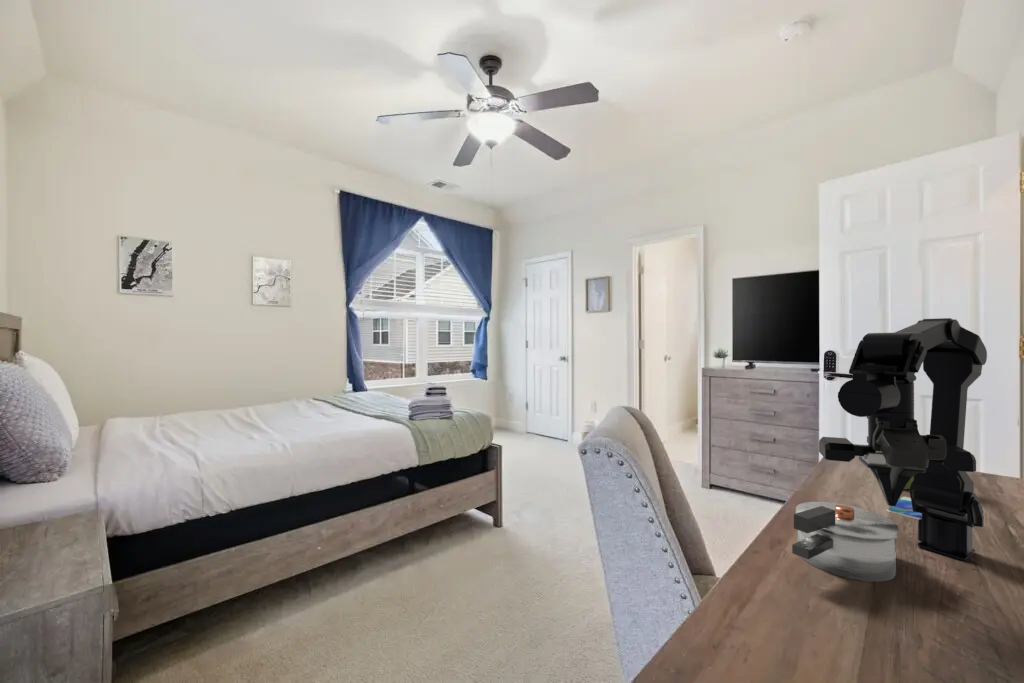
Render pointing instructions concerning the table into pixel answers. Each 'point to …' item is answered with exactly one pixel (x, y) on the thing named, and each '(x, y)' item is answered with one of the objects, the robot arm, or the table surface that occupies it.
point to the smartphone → (905, 508)
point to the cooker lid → (844, 521)
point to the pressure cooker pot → (848, 555)
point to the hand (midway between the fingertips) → (891, 505)
